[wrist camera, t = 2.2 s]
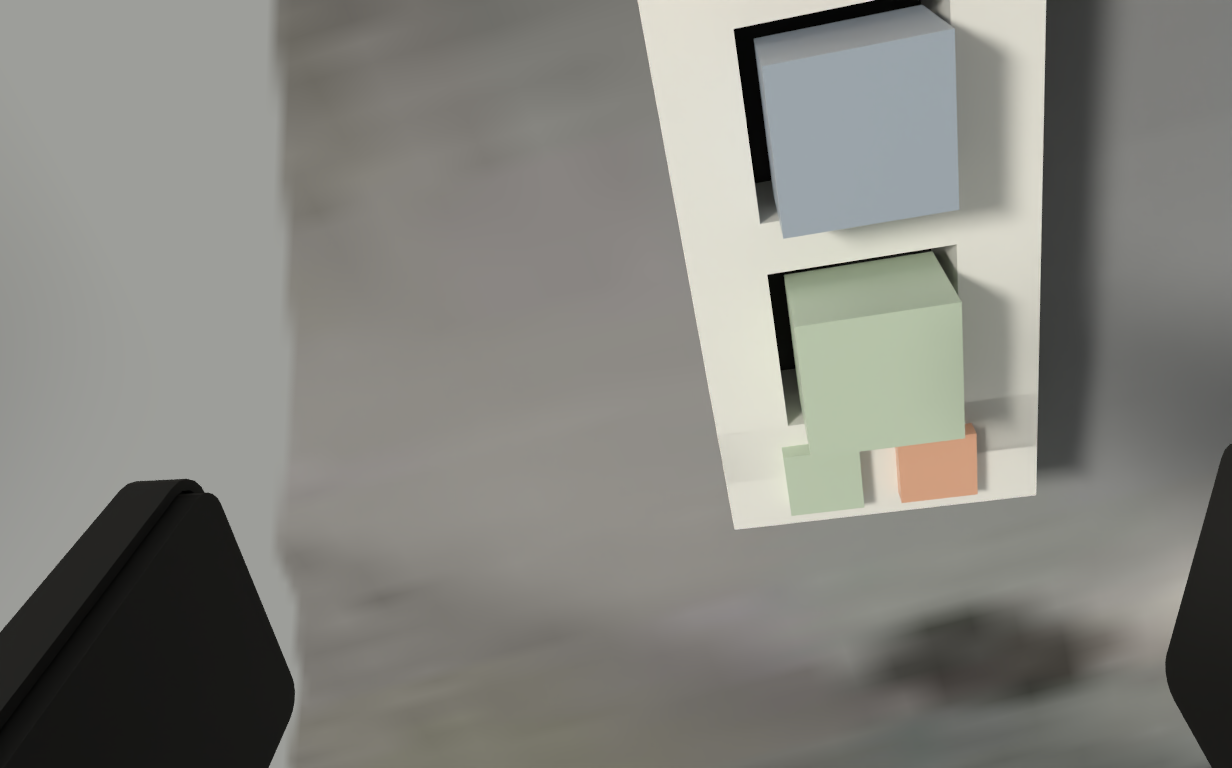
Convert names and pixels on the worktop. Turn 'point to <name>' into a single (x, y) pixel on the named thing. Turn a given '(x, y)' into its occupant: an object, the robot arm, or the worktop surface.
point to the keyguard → (961, 241)
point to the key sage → (877, 354)
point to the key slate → (861, 120)
